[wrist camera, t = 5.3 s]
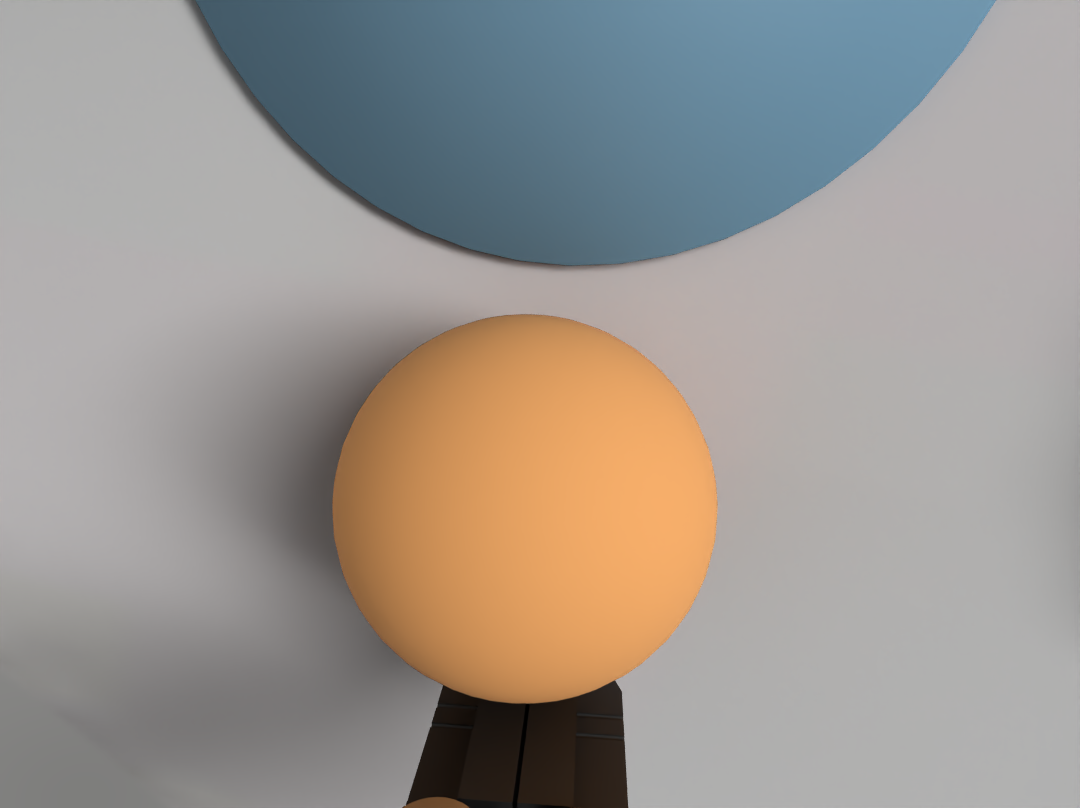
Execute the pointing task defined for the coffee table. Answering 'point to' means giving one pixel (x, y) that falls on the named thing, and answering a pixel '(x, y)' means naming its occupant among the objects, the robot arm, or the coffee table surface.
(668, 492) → the ball
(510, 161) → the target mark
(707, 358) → the coffee table surface
